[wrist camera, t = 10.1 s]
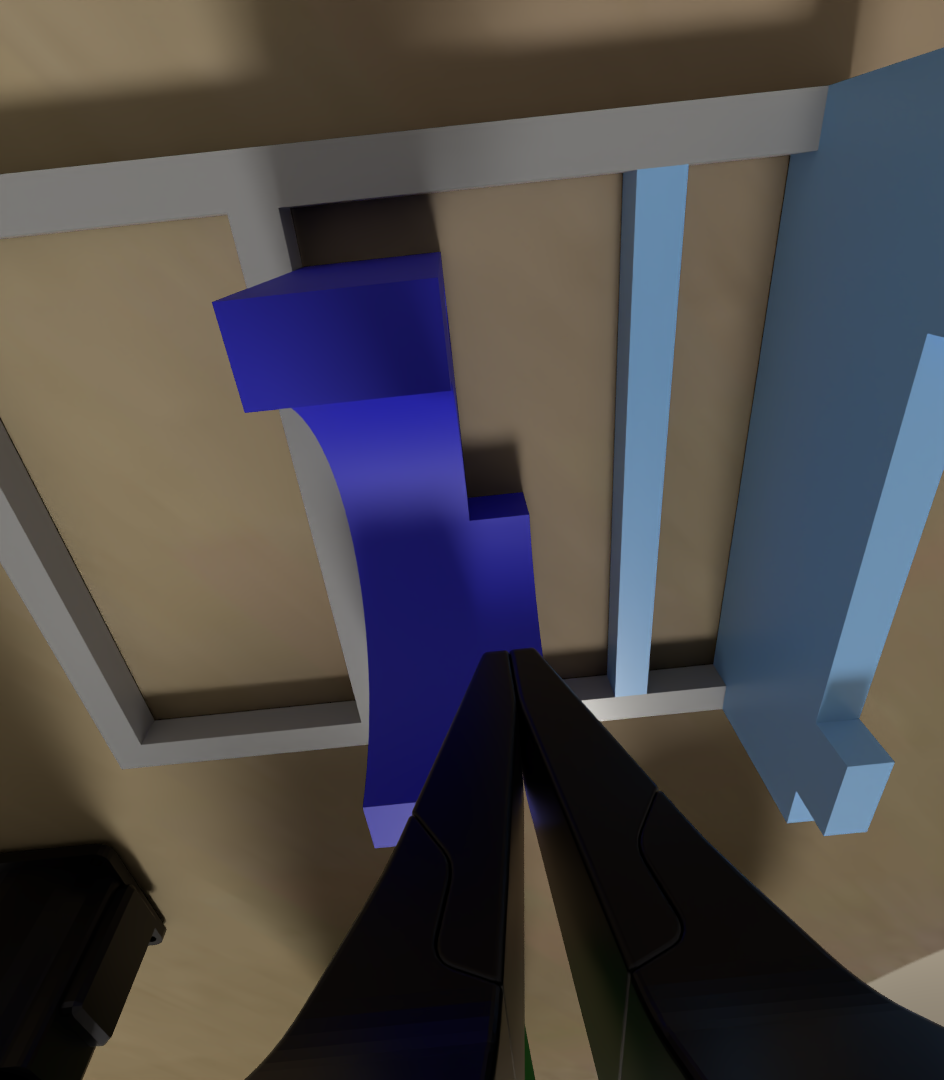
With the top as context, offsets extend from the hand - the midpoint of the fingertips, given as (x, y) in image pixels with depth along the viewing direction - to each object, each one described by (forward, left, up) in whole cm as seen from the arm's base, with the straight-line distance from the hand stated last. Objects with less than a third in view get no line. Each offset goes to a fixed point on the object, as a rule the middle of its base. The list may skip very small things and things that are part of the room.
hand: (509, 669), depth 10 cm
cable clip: (-1, 0, -7) cm, 7 cm away
